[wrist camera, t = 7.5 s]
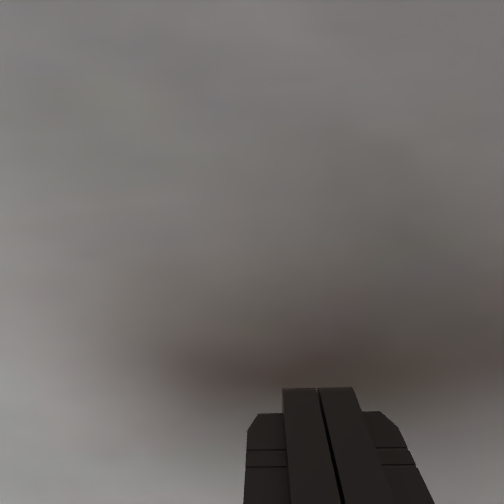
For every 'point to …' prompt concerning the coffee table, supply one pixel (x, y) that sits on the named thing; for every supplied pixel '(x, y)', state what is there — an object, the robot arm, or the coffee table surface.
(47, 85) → the coffee table surface
